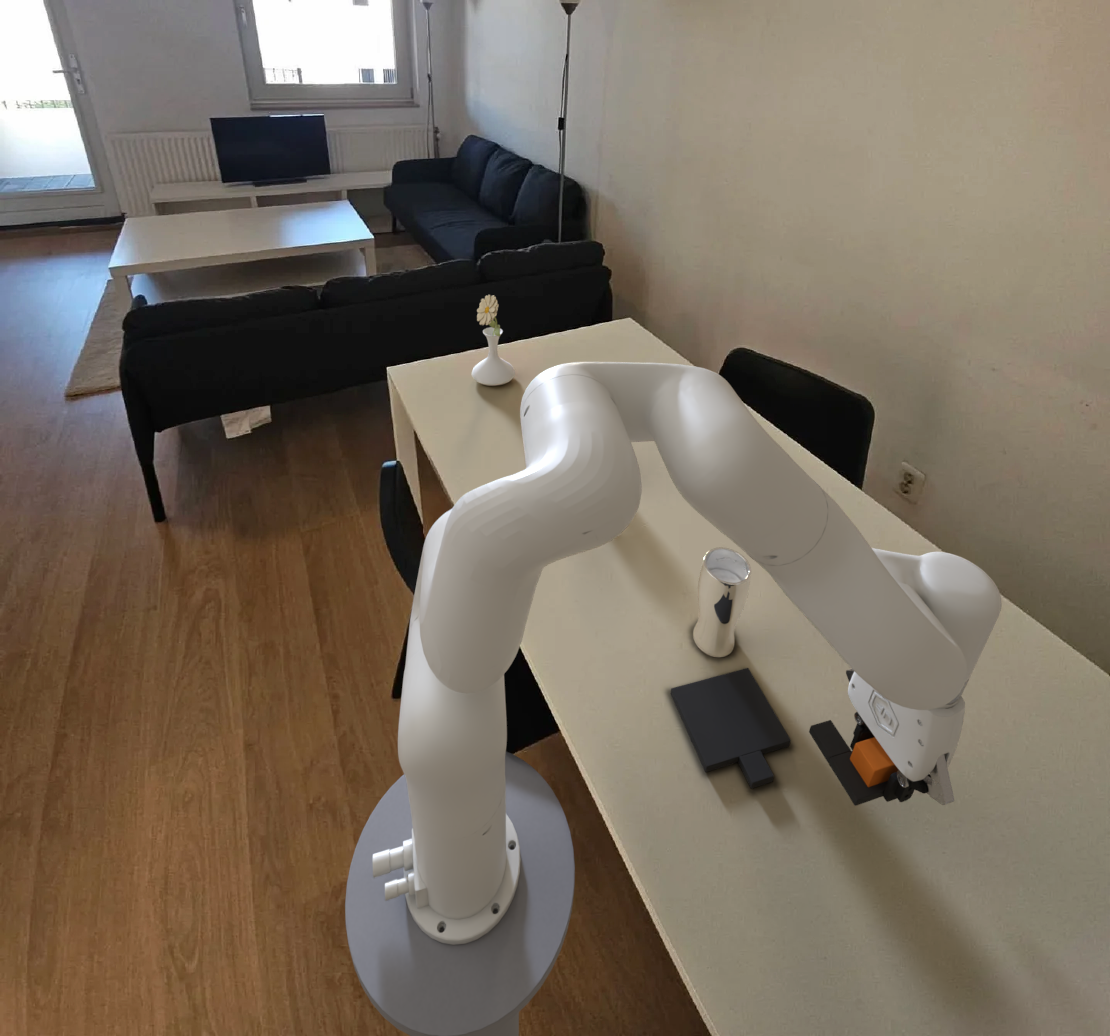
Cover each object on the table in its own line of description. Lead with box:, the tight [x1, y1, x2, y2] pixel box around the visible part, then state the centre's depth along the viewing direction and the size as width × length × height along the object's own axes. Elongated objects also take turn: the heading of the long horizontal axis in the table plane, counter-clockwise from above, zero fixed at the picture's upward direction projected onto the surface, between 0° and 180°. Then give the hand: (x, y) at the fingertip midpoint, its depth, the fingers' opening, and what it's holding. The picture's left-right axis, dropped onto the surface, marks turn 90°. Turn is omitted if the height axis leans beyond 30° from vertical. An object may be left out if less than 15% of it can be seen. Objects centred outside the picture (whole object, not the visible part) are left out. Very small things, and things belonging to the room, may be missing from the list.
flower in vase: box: [471, 294, 516, 387], centre depth 153 cm, size 13×11×25 cm
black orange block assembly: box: [808, 719, 930, 807], centre depth 70 cm, size 10×8×4 cm
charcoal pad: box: [670, 667, 792, 789], centre depth 79 cm, size 12×13×1 cm
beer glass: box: [692, 546, 752, 658], centre depth 88 cm, size 7×7×15 cm
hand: (878, 769), depth 69 cm, fingers closed on black orange block assembly, 4 cm apart
